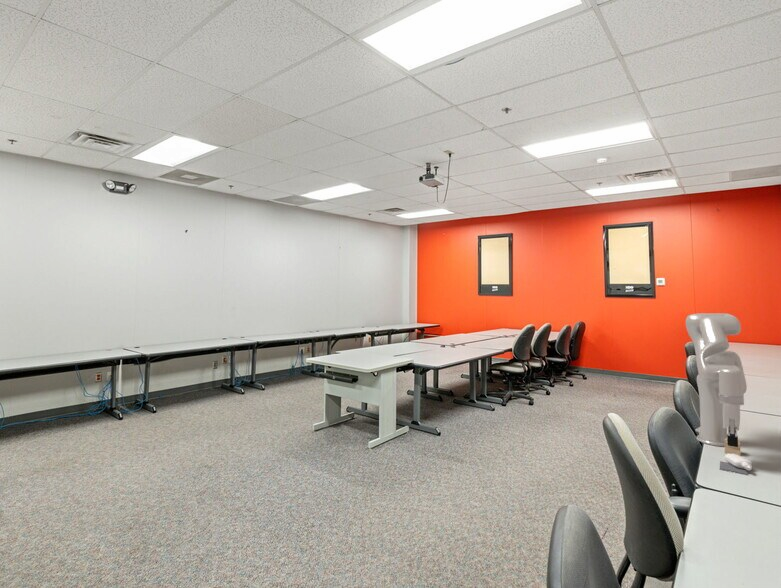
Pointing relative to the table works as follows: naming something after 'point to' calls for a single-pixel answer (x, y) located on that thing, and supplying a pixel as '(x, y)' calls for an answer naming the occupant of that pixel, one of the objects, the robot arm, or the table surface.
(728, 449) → the oak cube
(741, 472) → the mat
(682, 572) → the table surface
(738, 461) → the eye dropper bottle
